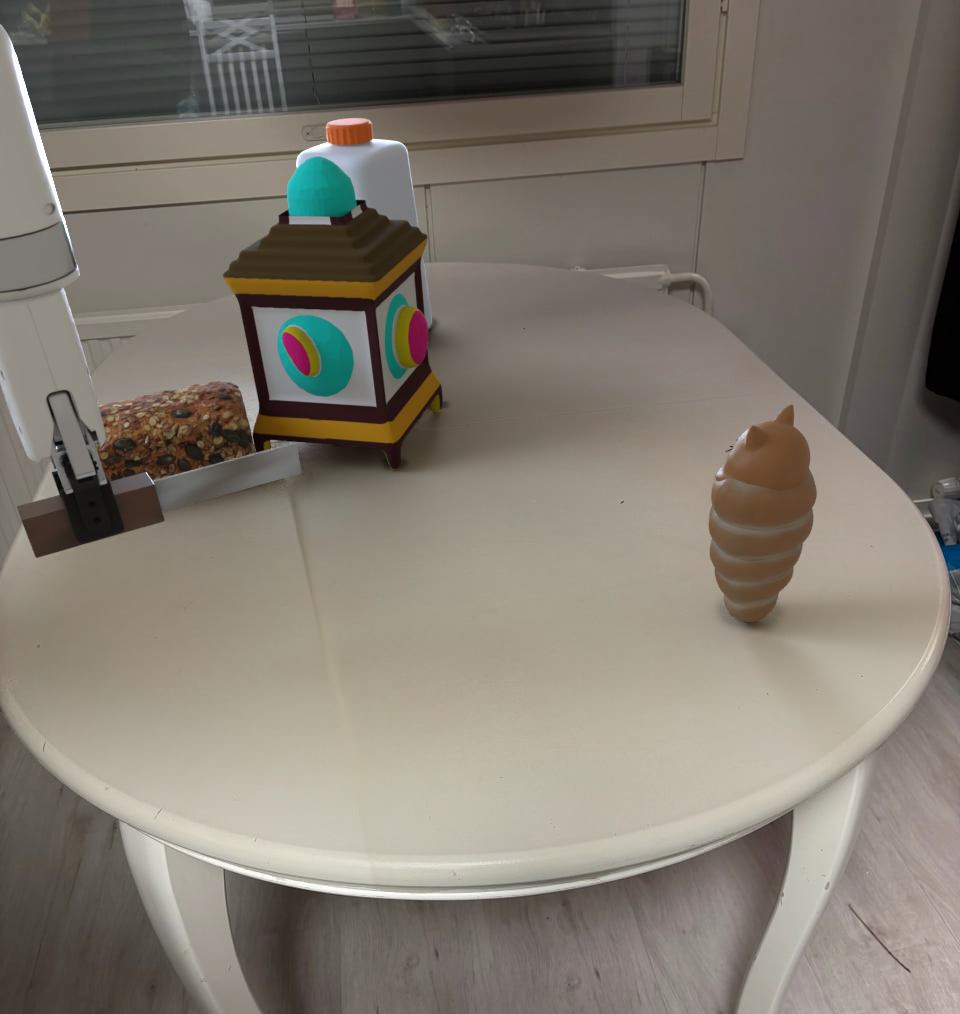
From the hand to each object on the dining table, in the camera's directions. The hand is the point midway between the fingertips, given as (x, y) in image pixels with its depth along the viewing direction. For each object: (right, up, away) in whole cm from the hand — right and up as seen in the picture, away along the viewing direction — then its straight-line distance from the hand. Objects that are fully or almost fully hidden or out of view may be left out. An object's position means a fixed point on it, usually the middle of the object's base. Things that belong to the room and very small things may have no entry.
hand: (96, 524), depth 68 cm
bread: (-6, +9, +37) cm, 39 cm away
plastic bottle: (+12, +36, +73) cm, 82 cm away
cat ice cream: (+50, -6, +13) cm, 52 cm away
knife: (+5, +1, +2) cm, 6 cm away
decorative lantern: (+12, +16, +46) cm, 50 cm away
